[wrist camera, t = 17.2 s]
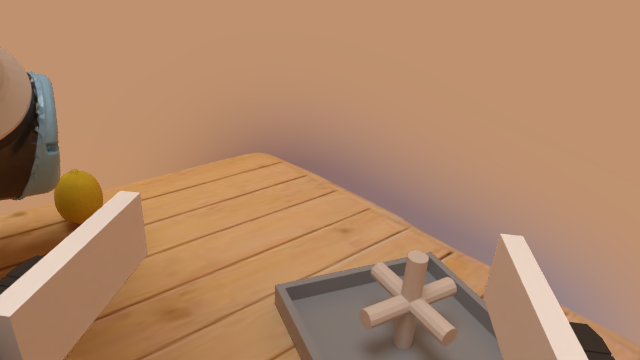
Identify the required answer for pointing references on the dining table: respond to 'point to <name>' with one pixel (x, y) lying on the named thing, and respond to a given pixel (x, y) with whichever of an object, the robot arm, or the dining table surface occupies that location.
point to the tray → (377, 343)
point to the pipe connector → (410, 302)
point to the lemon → (78, 196)
